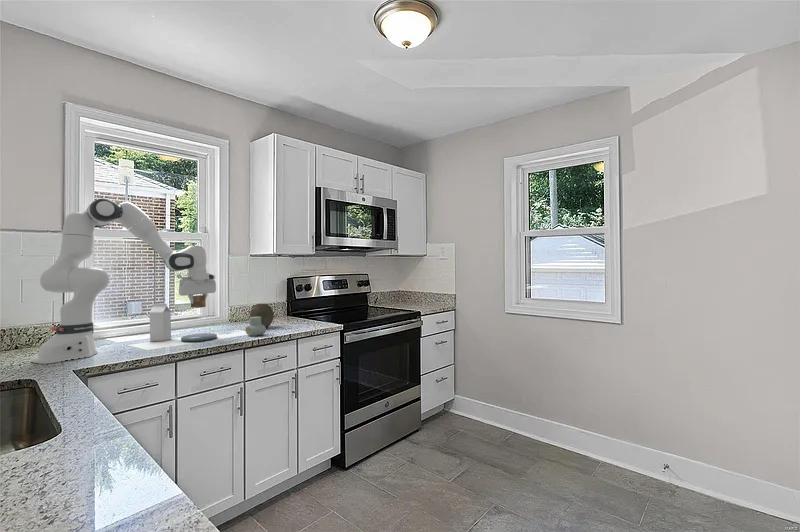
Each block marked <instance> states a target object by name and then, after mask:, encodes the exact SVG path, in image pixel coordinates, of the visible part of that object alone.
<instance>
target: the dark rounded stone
mask: <svg viewBox="0 0 800 532" xmlns="http://www.w3.org/2000/svg"><path fill="white" fill-rule="evenodd" d="M250 317H261V324H262V325H264V326H265V327H266V329H268V328H269V327H270V326H271V325H272V324H273V323H272V322H273V320H274V317H275V316H274V311H273V309H272V307H271V306H270V304H268V303H257V304H254V305H253V306H252V308H251V310H250V311H249V318H250Z"/></svg>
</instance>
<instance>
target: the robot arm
mask: <svg viewBox="0 0 800 532" xmlns="http://www.w3.org/2000/svg"><path fill="white" fill-rule="evenodd" d="M112 222H116V223H119V224H121V225H122V226H123V227H124V228H125V229H126V230H127V231H129V233H131V234H132V235H133V236H134V237H136V238H137V239H139V240H141V241H142V242H143V243H145V244H147V245H149V246H150V247H151V248H152V249H153V250H154V252H156V253H157V254H158V255H159V256H160V257H161V258H162V259H163V263H164V264H165V267H166V268H167V269H168V270H170V271H172V272H182V271H185V270H187V276H186V277H185V276H184V277H182V278H180V279H179V282H178V283H179V286H178V294H179V296H181V297H183V296H184V297H185V296H187V298H188V299H189V301H190V305H191V304H193V303H195V300H194V299H193V296H196V295H204V296H205V298H206V299H207V298H208V294H214V293H216V290H217V284H216V280H215V279H216V275H215V274H212V273H208V271H207V253H206V249H205V248H204V247H202V246H199V245H189V246H187V247H186V248H184V249H182V250H179V251H176V250H174V249H172V248H171V247H170V246H169V245H168V243H167V242H166V241H164V240H163V239H162V237H161V236H160V234H159V231H158V227H157V225H156V224H155V222H154V220H152V218H151V217H149V216H148V214H146V213H145V212H144V211H143V210H142V209H140V208H139V207H138V206H137V205H136V204H135V203H132V202H131V201H124V202H121V203H119V202H117V201H113V200H111V199H108V198H102V197H101V198H96V199H95V200H94V201H92V202H91V203H90V204H89V205H87V208H86V209H85V210H84V212H78V211H77V212H71V213H69V214H67V215H66V216H65V220H64V223H63V227H62V235H61V237H62V238H61V245H60V246H61V247H60V252H59V255H58V257H57V259H56V261H55V262H54V263H53V265H51V266H50V267H49V268H47V269H46V270H44V271H43V272H42V273H41V275H40V278H39V284H40V286H41V287H42V289H43V290H44V291H46V292H52V293H59V294H61V293H62V294H63V293H65V294H66V293H67V294H68V293H73V296H72V299H70V300H68V301H66V302H65V303H64V304H63V305H61V307H60V311H59V312H60V313H59V314H60V324H59V326H52V327H51V332H55V334H54V335H53V336H52V337H50V338H49V339H47V341H46V342H44V343H42V344H41V345H40V346H39V350H38V355H37V357H33V358H31V362H32V363H33V364H41V365H42V364H43V365H44V364H46V365H47V364H53V363H60V362H61V361H62V362H66V361H65V360H68V361H72V360H71V359H74V360H79V359H78V358H80V359H85V358H84V357H86V358H90V357H93V356H94V355H96V354H98V351H97V348H96V345H95V339H94V322H93V304H94V302H95V300H96V298H97V296H98V295H99V294H100V293H101V292H103V291H104V290H105V289H106V288H107V287H108V285H109V283H110V276H109V274H108V272H107V271H106V270H105V269H104V268H98V267H92V266H91V267H90V266H89V267H80V266H79V265H80V264H81V263H82V262H83V261H84V260H86V259H88V258H90V257H91V256H92V254H93V248H94V247H93V245H94V230H95V229H96V228H100V227H105V226H107V225H110V223H112Z"/></svg>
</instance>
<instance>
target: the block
mask: <svg viewBox="0 0 800 532" xmlns="http://www.w3.org/2000/svg"><path fill="white" fill-rule="evenodd" d="M193 299H194V300H195V303H193V304H191V303H190V308H193V309H199V308H201V309H202V308H206V306H207V305H206V300H207V297H206V298H205V296H204V295H203V294H196V295H193Z"/></svg>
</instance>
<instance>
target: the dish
mask: <svg viewBox="0 0 800 532" xmlns="http://www.w3.org/2000/svg"><path fill="white" fill-rule="evenodd" d="M216 338H217V334H216V333H210V332H209V333H206V332H205V333H193V334H186V335H183V336H181V337H180V340H181V341H182V342H203V341H202V340H205V341H207V340H208V341H209V340H213V339H216Z"/></svg>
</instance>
